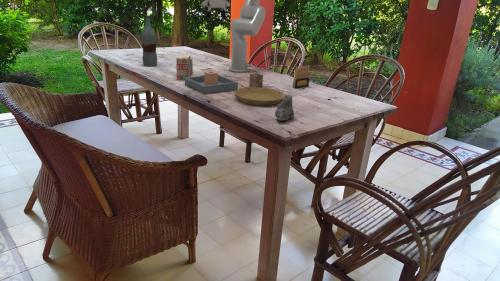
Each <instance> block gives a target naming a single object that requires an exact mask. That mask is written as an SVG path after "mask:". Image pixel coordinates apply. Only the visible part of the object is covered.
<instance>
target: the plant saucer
mask: <svg viewBox="0 0 500 281" xmlns="http://www.w3.org/2000/svg"><path fill="white" fill-rule="evenodd" d="M233 94H234V95H235V97H236V98H237V99H238V100H239V101H240V102H242V103H245V104H248V105H253V106H272V105H276V104H278V103H279V104H280V103H281V102H282V101H283V100H284V96H285V95H286V94H284V92H282V91H279V90H276V89H272V88H267V87H266V88H265V87H262V88H257V87H249V86H248V87H242V88H238V89H237V90H234V92H233Z"/></svg>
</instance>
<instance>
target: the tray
mask: <svg viewBox="0 0 500 281" xmlns="http://www.w3.org/2000/svg"><path fill="white" fill-rule="evenodd" d="M184 86H186V87H188V88H190V89H192V90H194V91H196V92H198V93H200V94H203V95H210V94H211V95H212V94H217V93H224V92H230V91H231V92H233V91H235V90H237V89H239V82H238V81H236V80H234V79H231V78H229V77H226V76H223V75H220V74H218V84H215V85H207V86H205V85H204V75H198V76H197V75H196V76H190V77H186V78H185V80H184Z"/></svg>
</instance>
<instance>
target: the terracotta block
mask: <svg viewBox="0 0 500 281" xmlns="http://www.w3.org/2000/svg"><path fill="white" fill-rule="evenodd" d="M218 75H219V73H218V72H216V71H213V70H211V71H204V75H203V76H204V85H205V86H207V85H215V84H218Z"/></svg>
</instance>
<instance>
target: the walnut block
mask: <svg viewBox="0 0 500 281" xmlns="http://www.w3.org/2000/svg"><path fill="white" fill-rule="evenodd" d="M263 82H264V74H261V73H258V72H256V73H255V72H253V73H249V84H248V85H249V86H248V88H249V87H257V88H263Z"/></svg>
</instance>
